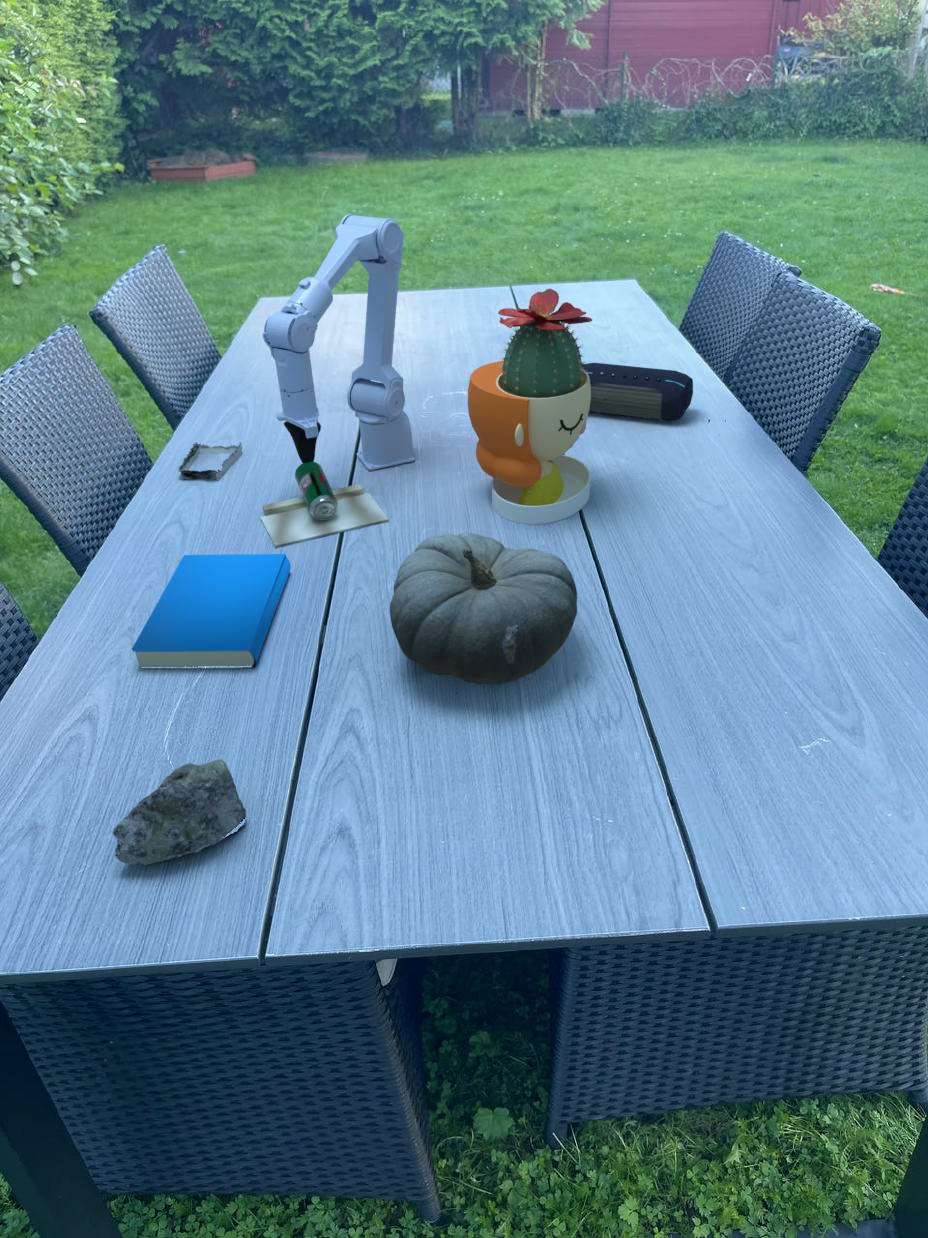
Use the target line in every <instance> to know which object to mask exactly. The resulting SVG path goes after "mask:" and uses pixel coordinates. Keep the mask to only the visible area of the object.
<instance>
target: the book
mask: <svg viewBox="0 0 928 1238" xmlns="http://www.w3.org/2000/svg"><path fill="white" fill-rule="evenodd" d="M175 568H176V569H175V570H174V572H173V574H172V576H171V578H170V579H169V581H168V583H167V585H166V587H165V588H164V590H163V591H162V593H161V596H160V598H159V599H158V601H157V603H156V605H155V607H154V608H153V610H152V611H151V614H150V615H149V618H148V619H147V621H146V623H145V625H144V626H143V628H142V630H141V632H140V633H139V636H138V637H137V639H136V641H135V642H134V645H133V646H132V648H131V650H132V652H134V653H135V655H136V656H135V657H136V659H137V662H138V666H139V668H140V667H185V666H186V667H193V666H194V667H198V666H203V667H204V666H228V667H229V666H247V665H248V666H250V665H251V666H252V665H253V666H256V665H257V662H258V659H259V657H260V653H261V651H262V648H263V645H264V643H265V640H266V637H267V634H268V632H269V630H270V629H269V628H270V626H271V623H272V622H273V617H274V615H275V612H276V610H277V607H278V605H279V601H280V599H281V596H282V593H283V590H284V588H285V585H286V582H287V579H288V577H289V574H290V571H291V562H290V560H289V558H288V557H287V556H286V553H253V554H252V553H251V554H246V553H245V554H238V553H237V554H183V556H182V557H181V560H180V561H179V563H178V565H177V567H175Z"/></svg>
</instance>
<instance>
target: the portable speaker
mask: <svg viewBox="0 0 928 1238" xmlns="http://www.w3.org/2000/svg"><path fill="white" fill-rule="evenodd" d="M585 364H586V365H585ZM583 367H584V369H583ZM582 369H583V370H585V371H586V372H587V373H588V375H589V378H590V385H591V400H590V405H591V407H590V412H593V413H601V414H610V415H616V414H618V415H617V416H625V415H628V416H627V417H633V416H636V417H635V418H642V417H646V418H645V419H650V418H654V419H653V420H659V419H662V420H661V421H666V420H667V422H668V421H675V420H679V419H681V418H682V417H684V415H685V413H686V411H687V410H688V409H689V407H690V405H691V404H692V399H693V395H694V380H693V378H692V377H691V376H689V375H688V374H686V373H683V372H680V371H677V370H675V369H674V370H673V369H672V370H671V369H665V368H664V369H663V368H653V367H652V368H651V367H643V366H642V367H641V366H631V365H624V364H623V365H621V364H611V363H609V364H608V363H601V362H589V363H583V364H582ZM590 412H589V413H590Z"/></svg>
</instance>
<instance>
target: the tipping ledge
mask: <svg viewBox="0 0 928 1238" xmlns="http://www.w3.org/2000/svg"><path fill="white" fill-rule="evenodd" d="M332 491H333V494H334V496H335V498H336V500H337V503H338V506H337V512H336V514H335V515H334V516H333V517H332V518H330V519H328V520H318V519H316V518H315V517H313V516H312V515H311V514H310V512H309V509H308V507H307V505H306V502H305V500H304V497H303V496H300V497H295V498H291V499H285V500H282V501H281V500H280V501H276V502H272V503H267V504H264V505H262V510H263V514H264V516H263V515H262V516H261V517H260V521H261V522H262V524H263V526H264V529H265V530H266V532H267V534H268V536H269V538H270V540H271V542H272V543H273V545H274V547H275V548H276V549H277V548H280V547H285V546H289V545H293V544H298V543H302V542H306V541H307V542H308V541H310V540H314V539H318V538H322V537H326V536H331V535H335V534H339V533H344V532H348V531H353V530H357V529H361V528H365V527H371V526H375V525H378V524H383V523H387V522H389V520H390V519H389V517H387V515H386V514H385V513H384V510H382V509H381V507H380V506H379V505H378V503H377V502H376V500H375V499H374V498H373V497H372V496H371V494H370V493H369V492H365V493H364V488H363V487H362V485H361V484H360V483H359V484H353V485H349V486H346V487H340V488H335V489H332Z"/></svg>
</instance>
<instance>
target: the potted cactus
mask: <svg viewBox="0 0 928 1238" xmlns="http://www.w3.org/2000/svg"><path fill="white" fill-rule="evenodd" d="M559 300H560V296H559V293H558V292H557V290H554V289H552V288H546V289H545V290H544V291H537V292H535V293H533V295H531V296H530V299H529V302H528V303H529V304H528V308H520V307H518V308H517V309H516V308H511V307H505V308H500V309H499V310H498V312H497V314H498V315H500V317H499V319H500V320H499V321H498V322H499V324H502V325H504V326H505V327H507V328H509V329H512V331H514V333H515V334H511V332H510V333H509V336H508V335H507V336H508V339H509V340H510V341H509V340H506V341H504V344H505V345H507V346H508V347H507V348H506V347H504V348H503V354H505V355H504V357H503V356H502V355H500V354H499V357H500V358H498V359H500V360H499V361H495V362H490V363H487V364H484V365H482V366H479V367H478V368H476V369H474V370H473V371H472V372H471V374H470V377H469V381H468V382H469V383H468V388H467V409H468V417H469V420H470V421H469V422H470V424H471V427H472V429H473V431H474V432H475V435H476V436H477V438H478V440H477V442H476V447H475V456H476V461H477V463H478V465H479V466H480V468H481V470H482V471H483V472H484V473H485V474H486V475H488V476H490V477H492V480H491V504H492V508H493V510H494V512H495V513H497V514H498V515H499V516H500V517H502V518H503V519H505V520H508V521H510V522H513V523H516V524H517V523H518V524H523V525H542V524H543V525H544V524H551V523H554V522H558V521H562V520H565V519H567V518H570V517H571V516H573V515H575V514H577V513H578V512H579V511H580V510H582V509H583V508H584V507H585V506H586V505H587V503H588V501H589V500H590V496H591V480H592V479H591V477H592V474H591V471H590V468H589V467H588V465H587V464H585V462H584V461H582V460H580V459H579V458H575V457H573V456H570V455H568V454H567V455H566V452H568V451H569V450H570V449H571V448H572V447H573V446H574V445H575V443H576V442H577V441H578V440H579V438H580V436H581V435H583V434H584V433H585V431H586V427H587V421H588V418H589V414H590V407H591V405H590V400H591V385H590V378H589V375H588V373H587V372H586V371H585V370H583V369H584V367H583V369H582V364H585V365H586V364H587V363H586V361H582V358H583V357H584V358H585V353H584V352H583V353H582V354H581V350H580V349H581V348H584V345H582V344H580V345H579V343H578V342H579V340H580V339H582V338H579V337H580V335H578V336H577V337H575V334H576V333H575V331H574V330H572V331H570V328H571V326H572V325H576V324H584V323H591V322H593V319H592V317H589V316H585V315H587V312H586V311H583V310H582V309H581V308H579V307H575V306H574V305H573V304H572V303H570V302H567V301H566V302H563V303H562V304H561V305H560V306H559V307H558V309H557V310H556V308H557V306H558V305H559ZM555 310H556V311H555ZM554 311H555V312H554ZM501 316H503V317H504V316H505V317H507V318H503V317H501ZM565 324H567V325H566V326H565ZM578 345H579V346H578Z"/></svg>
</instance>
